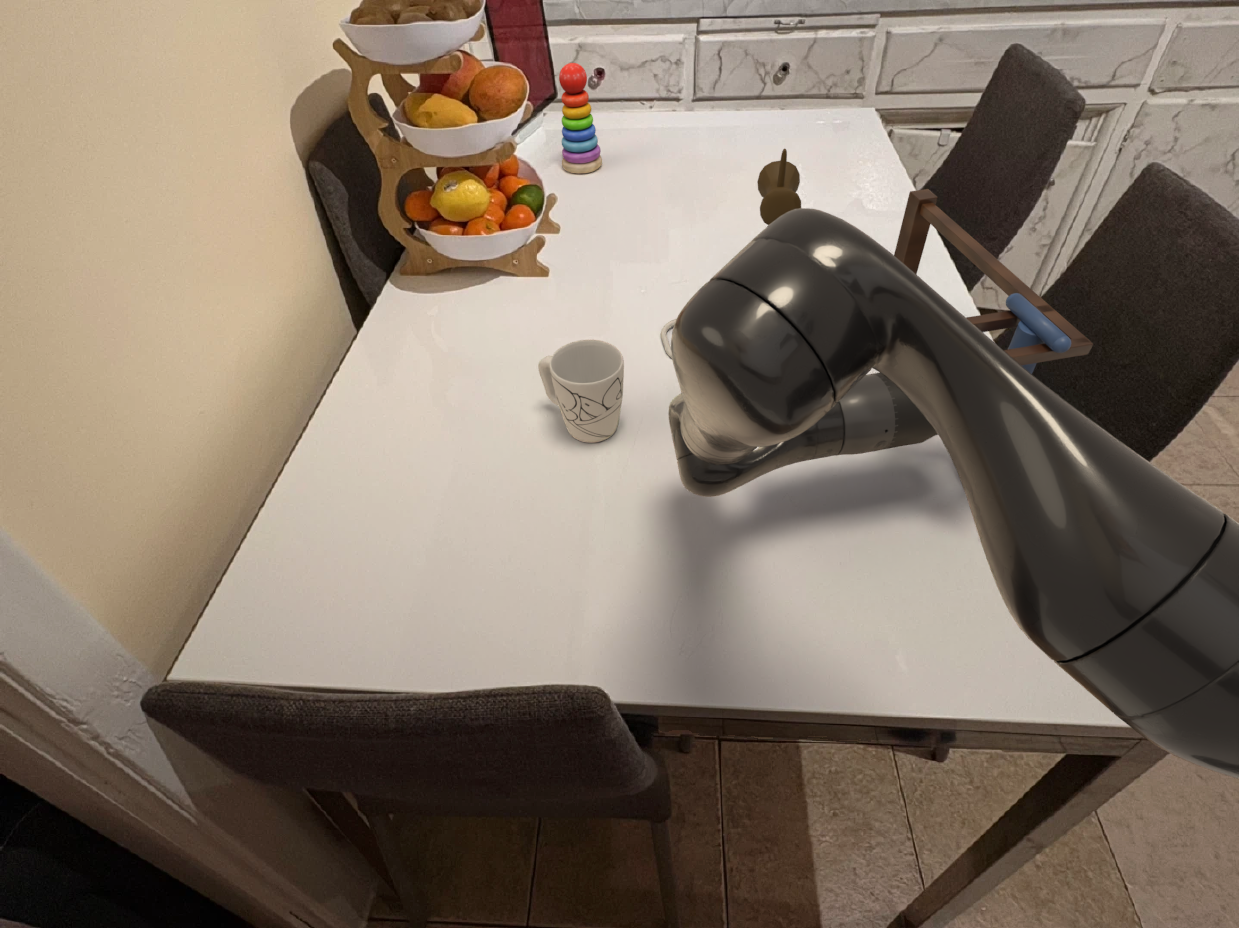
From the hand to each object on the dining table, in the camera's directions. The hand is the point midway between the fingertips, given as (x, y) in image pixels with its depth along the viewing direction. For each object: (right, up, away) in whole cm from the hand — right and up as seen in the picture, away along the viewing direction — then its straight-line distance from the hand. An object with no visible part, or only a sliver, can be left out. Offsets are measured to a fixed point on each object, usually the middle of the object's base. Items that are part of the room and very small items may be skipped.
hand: (1034, 384), depth 72 cm
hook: (-26, +10, +28) cm, 40 cm away
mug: (-46, -3, +17) cm, 49 cm away
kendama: (-19, +20, +38) cm, 47 cm away
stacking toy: (-49, +51, +71) cm, 100 cm away
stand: (-5, +1, +19) cm, 19 cm away
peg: (-2, -6, +6) cm, 9 cm away
